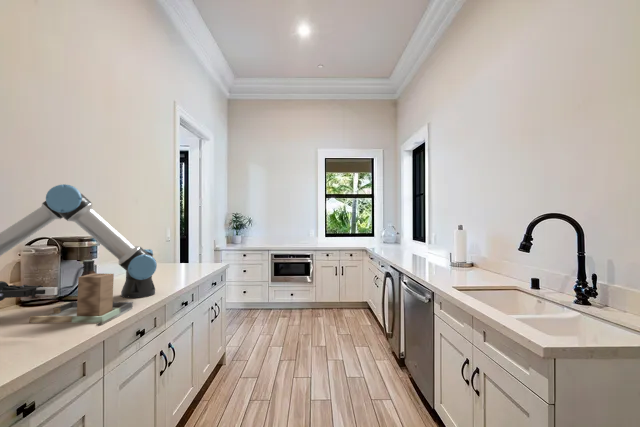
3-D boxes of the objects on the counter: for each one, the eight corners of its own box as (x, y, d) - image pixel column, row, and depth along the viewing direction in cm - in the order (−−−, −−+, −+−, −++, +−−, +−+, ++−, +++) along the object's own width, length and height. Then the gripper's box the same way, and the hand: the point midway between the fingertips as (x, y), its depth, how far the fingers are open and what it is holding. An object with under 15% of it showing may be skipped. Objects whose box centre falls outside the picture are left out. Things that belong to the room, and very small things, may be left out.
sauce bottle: (86, 302, 144) (88, 259, 145) (99, 303, 144) (101, 259, 144) (75, 306, 138) (76, 260, 138) (88, 306, 137) (90, 261, 138)
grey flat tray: (29, 325, 113) (29, 316, 113) (71, 308, 134) (71, 301, 134) (101, 325, 114) (102, 316, 114) (132, 309, 135) (132, 302, 135)
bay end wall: (100, 324, 115) (100, 316, 115) (116, 316, 125) (116, 308, 125) (103, 324, 115) (103, 316, 115) (119, 316, 125) (119, 308, 125)
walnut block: (76, 320, 116) (78, 277, 116) (91, 314, 124) (92, 273, 124) (99, 320, 116) (100, 277, 117) (112, 314, 124) (113, 273, 125)
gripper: (5, 297, 125) (68, 296, 126) (-29, 306, 112) (41, 305, 113) (6, 278, 125) (68, 278, 126) (-28, 285, 112) (42, 284, 113)
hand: (55, 291), depth 120 cm, fingers closed
